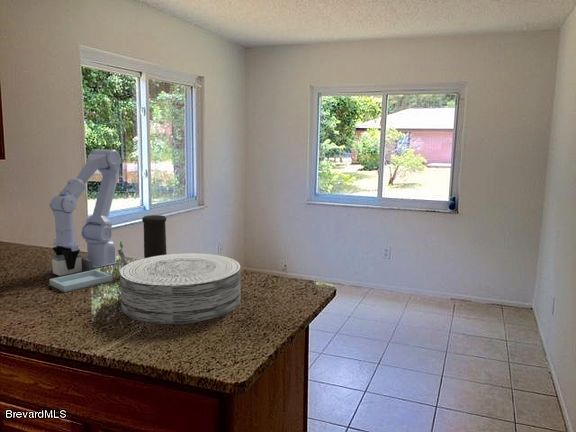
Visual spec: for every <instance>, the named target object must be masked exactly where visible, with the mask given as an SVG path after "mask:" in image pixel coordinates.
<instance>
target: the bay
mask: <svg viewBox="0 0 576 432" xmlns="http://www.w3.org/2000/svg"><path fill="white" fill-rule="evenodd" d="M81 261H82V271H81V272H86V271H91V270H93V268H92V260H89V259H88V258H86V257H83V256H81ZM44 271H45V272H44V273H45V275H48V274H54V273H53V268H52V269H46V270H44Z"/></svg>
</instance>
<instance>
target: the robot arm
mask: <svg viewBox="0 0 576 432" xmlns="http://www.w3.org/2000/svg"><path fill="white" fill-rule="evenodd" d="M121 163H122V157H121V155H120V153H119V152H118V150H116V149H98V148H94V149H93V150H91V151H90V153H89V154H88V155H87V161H86V162H85V164H84V165H83V167H82V169H81V170H80V171H79V173H78V175H77V176H76V177H75V178H71V179H68V181H66V182H67V184H66V185H65V186H64V187H63V189H62V190H61V191H59V194H58V195H55V196H53V197H52V199H51V201H50V203H49V208H50V210H51V211H52V215H53V216H54V224H55V225H54V226H55V239H53V243H52V245H53V247H52V250H53V252H54V253H55V256H57V255H64V257H65V261H66V266H67V269H68V270H70V269H74V268H75V263H76V258H77V256H78V254H80V252H81V250H80V248H79V244H78V243H77V242H76V241H75V229H74V228H75V226H74V214H73V212H74V210H76V208H77V202H78V199H79V198H80V197H81V196H82V194H83V192H84V191H85V190H86V183H87V182H88V181H89V180H90V179H91V177H92V176H93V175H94V174H95V173H96V171H98V172H99V173H100V174H101V175H102V179H101V181H100V185H99V190H98V192H97V193H98V194H97V197H96V200H95V203H94V204H95V206H94V210H93V213H92V215H91V216H90V217H88V218H87V219H86V220H85V224H84V225H83V227H82V228H81V236H82V239H84V240H85V242H86V248H87V250H86V251H87V259H89V260H92V269H98V268H103V267H106V266H111V265H116V264H117V263H118V262H117V260H116V246H115V243H114V241H113V240H110V239H111V238H112V234H113V231H112V227H113V223H112V222H111V220H110V219H109V216H110V211H111V207H112V203H113V200H114V196H115V193H116V192H115V191H116V189H117V188H116V187H117V184H118V180H119V175H120V165H121Z"/></svg>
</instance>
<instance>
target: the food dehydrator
mask: <svg viewBox="0 0 576 432" xmlns="http://www.w3.org/2000/svg"><path fill="white" fill-rule="evenodd" d="M119 247H120V249H118V250H117V252H118V255H119V256H120V259H121V261H122V264H123V267H121V269H120V270H119V278H120V279H119V281H120V282H119V283H120V298H121V299H120V302H121V310H122V312H123V314H124V315H126V316H127V317H128V318H131V319H133V320H135V321H139V322H144V323H149V324H157V325H181V324H183V325H184V324H192V323H200V322H206V321H210V320H214V319H217V318H221V317H223V316H225V315H228V314H230V313H231V312H233V311H234V310H236V309H237V308H238V307H239V306H240V305H241V301H242V300H241V265H240V263H239V262H238V261H237V260H236V259H233V258H230V257H227V256H223V255H219V254H211V253H198V252H197V253H195V252H194V253H189V252H188V253H170V254H167V255H160V256H154V257H149V258H144V257H143V258H141V259H137V260H135V261H131V262H129V263H128V260H127V257H126V256H125V253H124V250H123V248H124V245H123V243H122V241H120V243H119Z"/></svg>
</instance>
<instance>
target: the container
mask: <svg viewBox="0 0 576 432" xmlns="http://www.w3.org/2000/svg"><path fill="white" fill-rule="evenodd" d="M141 221H142V223H143V259H144V258H149V257H154V256H160V255H168V254H167V235H166V234H167V233H166V231H167V230H166V229H167V228H166V227H167V225H166V222H167V217H166V216H165V215H161V214H153V215H152V214H151V215H145V216H143V217H142V218H141Z"/></svg>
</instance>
